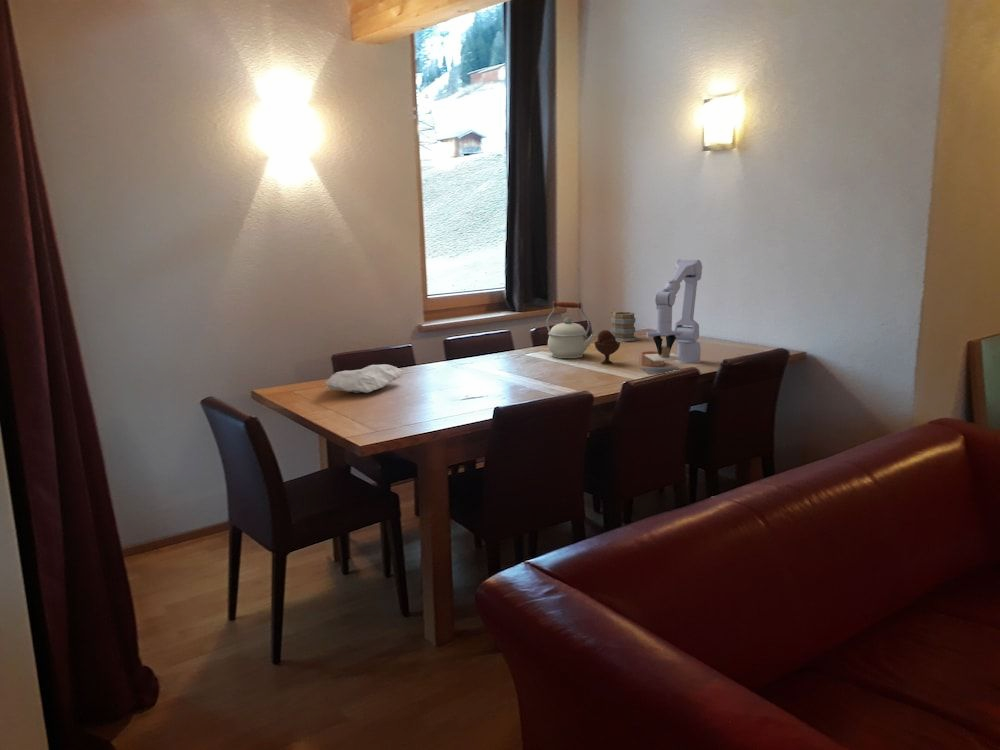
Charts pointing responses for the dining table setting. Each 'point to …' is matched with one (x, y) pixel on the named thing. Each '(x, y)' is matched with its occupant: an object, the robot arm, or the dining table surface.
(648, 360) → the bowl
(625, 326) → the tankard
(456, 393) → the dining table surface
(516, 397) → the dining table surface
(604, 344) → the ice cream bowl
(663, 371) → the mat
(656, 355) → the lid
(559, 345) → the kettle
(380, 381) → the crumpled cloth
